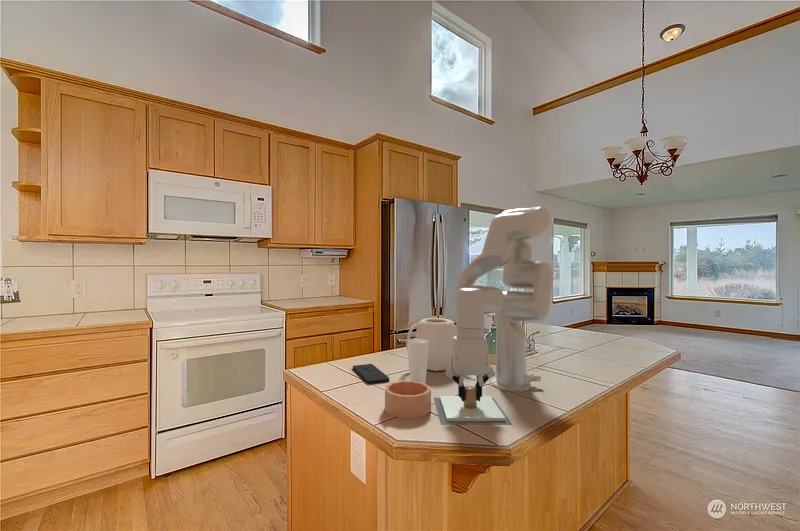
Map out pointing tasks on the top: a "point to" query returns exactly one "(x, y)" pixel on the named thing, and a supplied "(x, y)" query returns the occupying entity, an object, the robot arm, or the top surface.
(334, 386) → the top surface
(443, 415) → the mat
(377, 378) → the smart home device
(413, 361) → the drinking glass
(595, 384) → the top surface
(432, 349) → the watering can
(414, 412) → the bowl
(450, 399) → the cover sheet
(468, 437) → the top surface
